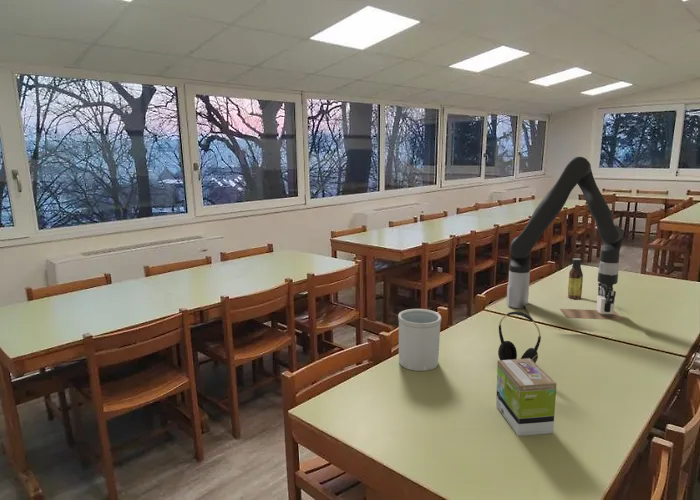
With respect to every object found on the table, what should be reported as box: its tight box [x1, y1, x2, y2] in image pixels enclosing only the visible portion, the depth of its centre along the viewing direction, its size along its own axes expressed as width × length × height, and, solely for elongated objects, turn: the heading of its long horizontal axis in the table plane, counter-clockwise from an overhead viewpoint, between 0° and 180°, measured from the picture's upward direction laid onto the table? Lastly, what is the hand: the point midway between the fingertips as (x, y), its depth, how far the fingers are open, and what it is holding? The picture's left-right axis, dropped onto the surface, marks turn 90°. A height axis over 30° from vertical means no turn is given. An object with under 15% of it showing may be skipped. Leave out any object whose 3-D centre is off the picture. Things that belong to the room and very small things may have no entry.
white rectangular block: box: [595, 294, 616, 314], centre depth 200 cm, size 5×5×7 cm
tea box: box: [495, 358, 557, 437], centre depth 125 cm, size 15×10×15 cm, turn 5°
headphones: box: [497, 310, 542, 364], centre depth 154 cm, size 9×15×20 cm, turn 43°
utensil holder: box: [397, 308, 442, 372], centre depth 160 cm, size 15×15×18 cm
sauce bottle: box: [567, 257, 584, 300], centre depth 228 cm, size 6×6×20 cm
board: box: [559, 308, 625, 321], centre depth 202 cm, size 23×12×2 cm, turn 80°
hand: (604, 309), depth 201 cm, fingers closed on white rectangular block, 5 cm apart
